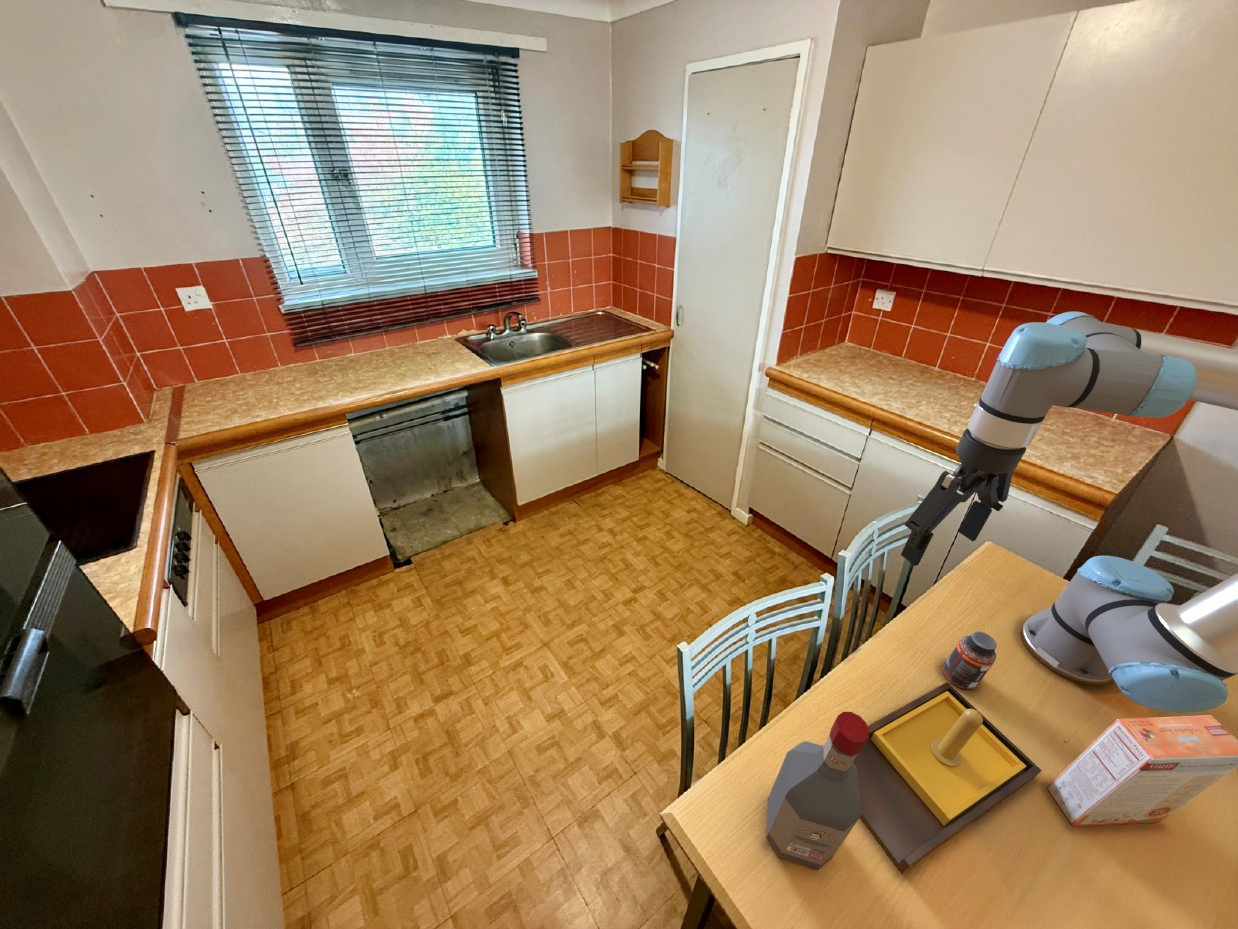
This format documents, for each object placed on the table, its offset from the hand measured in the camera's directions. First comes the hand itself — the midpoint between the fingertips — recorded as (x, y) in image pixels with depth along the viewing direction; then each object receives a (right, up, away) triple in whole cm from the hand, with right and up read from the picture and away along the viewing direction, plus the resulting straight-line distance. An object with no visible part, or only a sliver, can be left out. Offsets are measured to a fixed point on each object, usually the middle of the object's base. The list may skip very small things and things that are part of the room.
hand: (938, 547), depth 82 cm
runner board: (-2, -37, +1) cm, 37 cm away
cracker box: (+23, -40, -3) cm, 47 cm away
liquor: (-26, -42, -6) cm, 49 cm away
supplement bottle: (+13, -27, +15) cm, 34 cm away
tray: (+2, -35, +1) cm, 35 cm away
